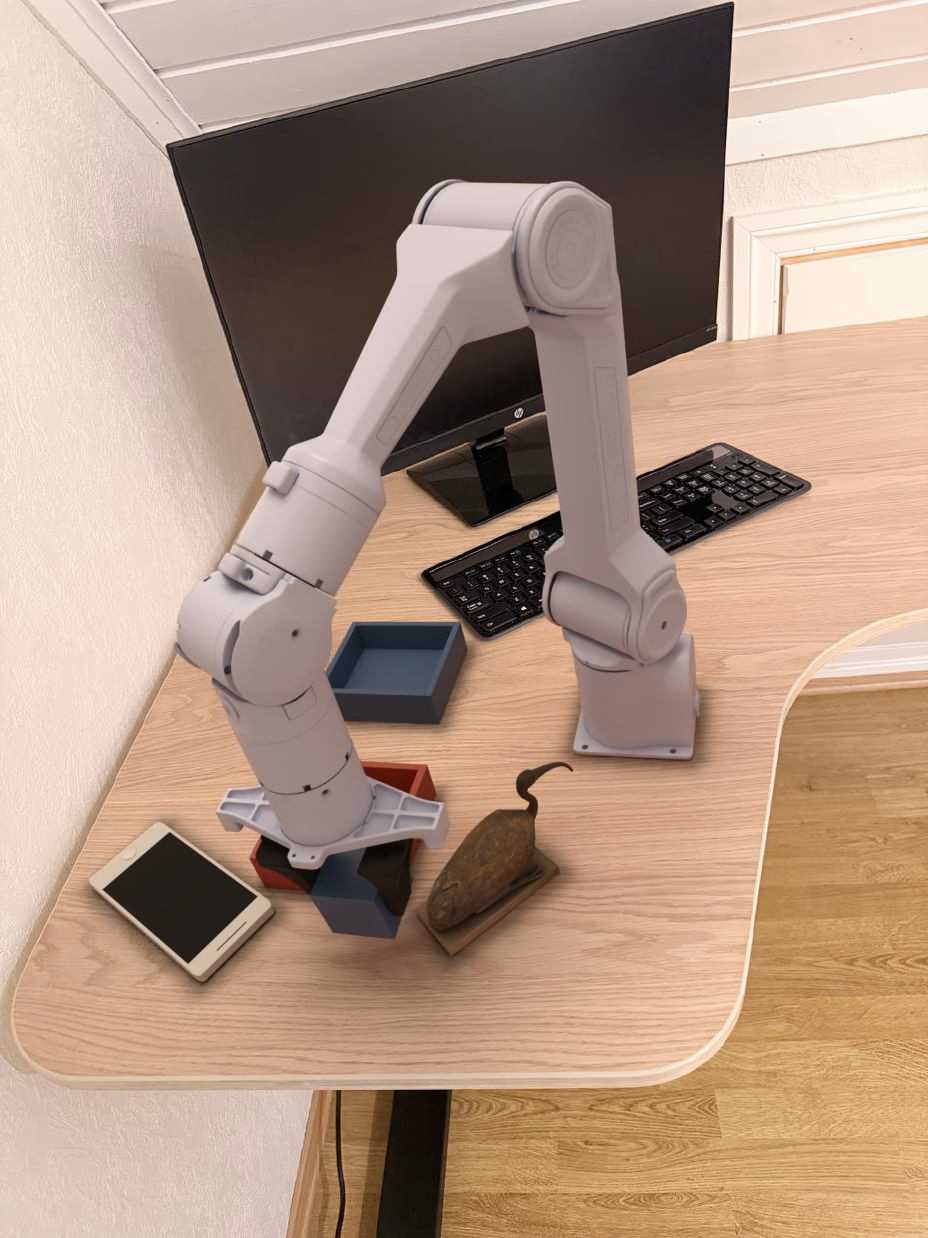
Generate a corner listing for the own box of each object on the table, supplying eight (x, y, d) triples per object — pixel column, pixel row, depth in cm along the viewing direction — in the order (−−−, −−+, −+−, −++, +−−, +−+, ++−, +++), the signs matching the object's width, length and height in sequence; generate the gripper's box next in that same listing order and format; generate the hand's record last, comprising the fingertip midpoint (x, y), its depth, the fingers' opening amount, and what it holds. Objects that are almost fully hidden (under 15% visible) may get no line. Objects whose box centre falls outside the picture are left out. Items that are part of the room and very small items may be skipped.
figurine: (563, 807, 70) (546, 726, 65) (603, 840, 67) (589, 758, 62) (415, 917, 65) (385, 839, 60) (451, 958, 62) (423, 880, 57)
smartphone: (162, 826, 77) (158, 818, 77) (277, 910, 68) (273, 902, 67) (91, 887, 73) (85, 880, 73) (202, 985, 64) (197, 977, 63)
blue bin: (467, 649, 88) (460, 621, 86) (439, 724, 80) (430, 695, 78) (362, 648, 92) (352, 621, 89) (325, 720, 84) (314, 692, 82)
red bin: (436, 793, 74) (427, 764, 72) (398, 901, 66) (387, 871, 64) (313, 785, 78) (300, 757, 75) (263, 886, 70) (248, 857, 68)
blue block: (414, 879, 62) (395, 840, 59) (395, 940, 59) (374, 902, 56) (354, 874, 63) (333, 836, 60) (332, 933, 60) (309, 896, 57)
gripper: (162, 802, 51) (244, 940, 59) (400, 820, 47) (454, 967, 55) (218, 714, 57) (287, 852, 65) (437, 723, 52) (482, 870, 60)
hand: (366, 899), depth 60 cm, fingers closed on blue block, 4 cm apart
